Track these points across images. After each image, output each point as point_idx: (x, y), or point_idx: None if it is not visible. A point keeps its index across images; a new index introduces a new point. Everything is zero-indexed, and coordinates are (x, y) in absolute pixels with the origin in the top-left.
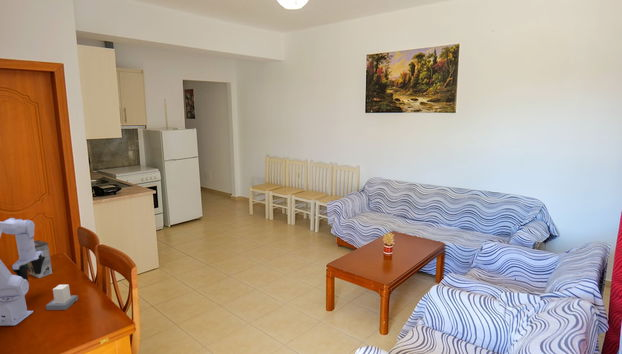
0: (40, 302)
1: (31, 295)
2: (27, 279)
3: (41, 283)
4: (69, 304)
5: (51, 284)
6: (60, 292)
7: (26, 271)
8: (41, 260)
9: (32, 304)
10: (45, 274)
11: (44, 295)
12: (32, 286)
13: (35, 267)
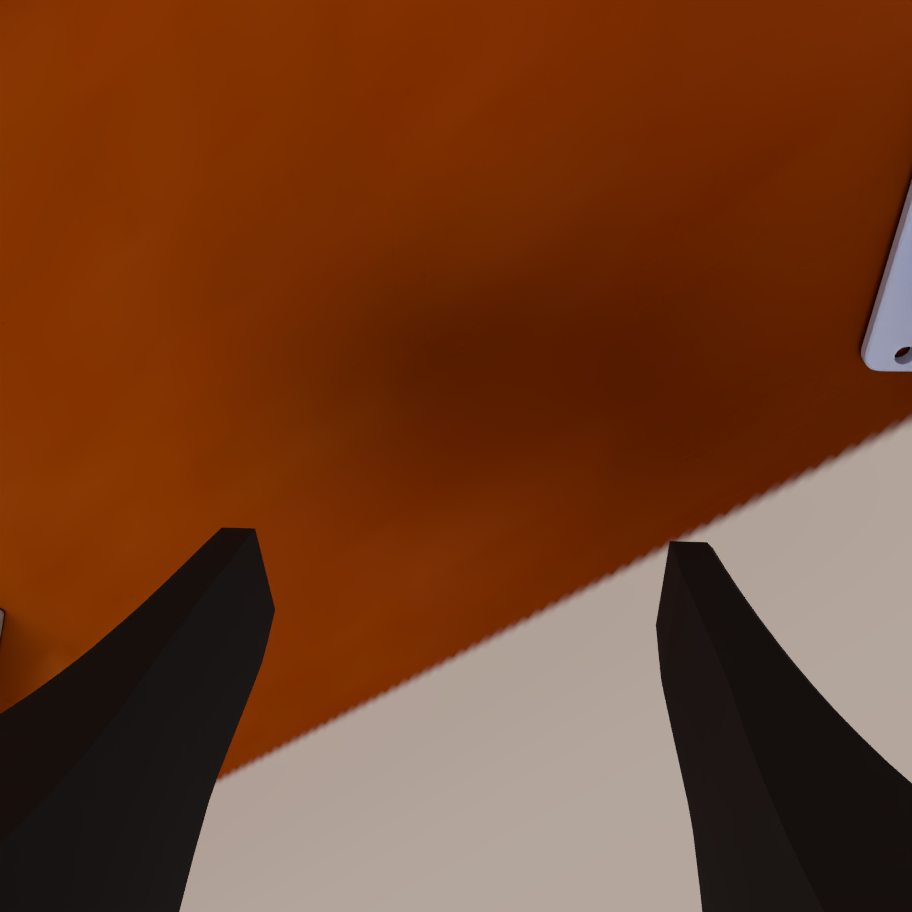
0: (596, 168)
1: (390, 441)
2: (702, 578)
3: (93, 518)
4: None
5: (70, 385)
6: None
7: (840, 800)
8: (10, 835)
9: (651, 256)
10: None
11: (373, 264)
12: None
13: (202, 736)
